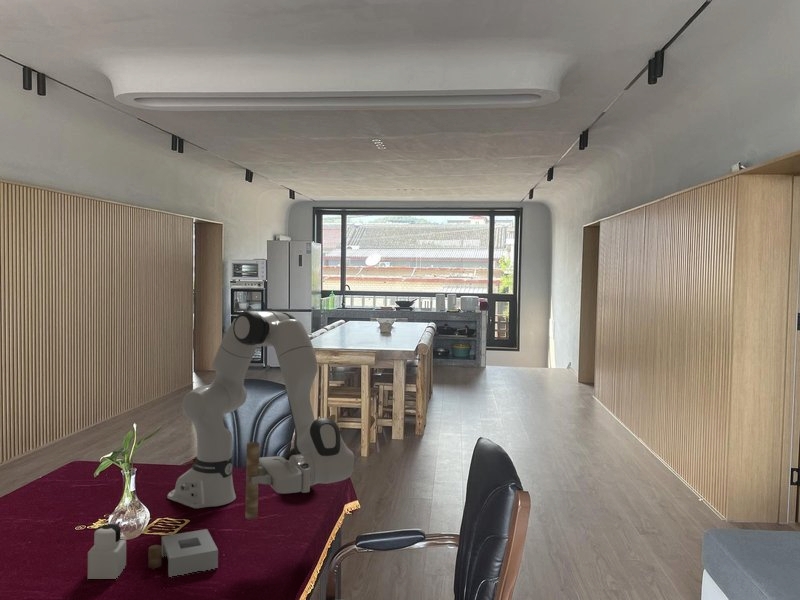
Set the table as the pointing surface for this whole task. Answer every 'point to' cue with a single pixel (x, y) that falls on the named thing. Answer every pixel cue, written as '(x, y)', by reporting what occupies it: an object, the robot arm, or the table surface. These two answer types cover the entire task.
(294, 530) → the table surface
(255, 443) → the long oak pin
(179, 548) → the tissue box
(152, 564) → the short walnut pin
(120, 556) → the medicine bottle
